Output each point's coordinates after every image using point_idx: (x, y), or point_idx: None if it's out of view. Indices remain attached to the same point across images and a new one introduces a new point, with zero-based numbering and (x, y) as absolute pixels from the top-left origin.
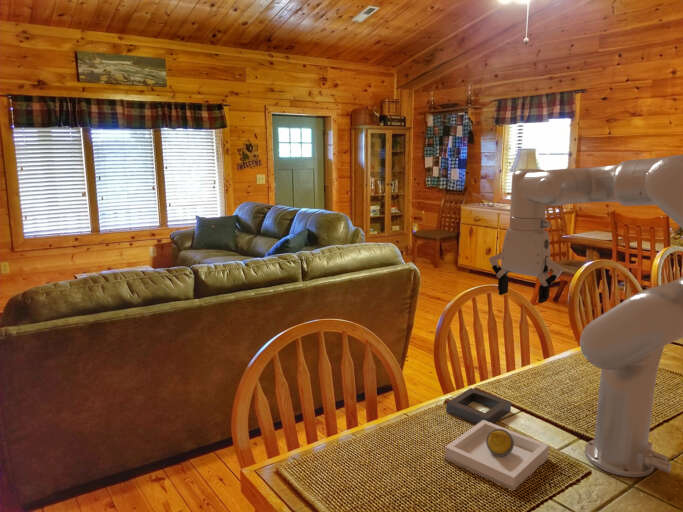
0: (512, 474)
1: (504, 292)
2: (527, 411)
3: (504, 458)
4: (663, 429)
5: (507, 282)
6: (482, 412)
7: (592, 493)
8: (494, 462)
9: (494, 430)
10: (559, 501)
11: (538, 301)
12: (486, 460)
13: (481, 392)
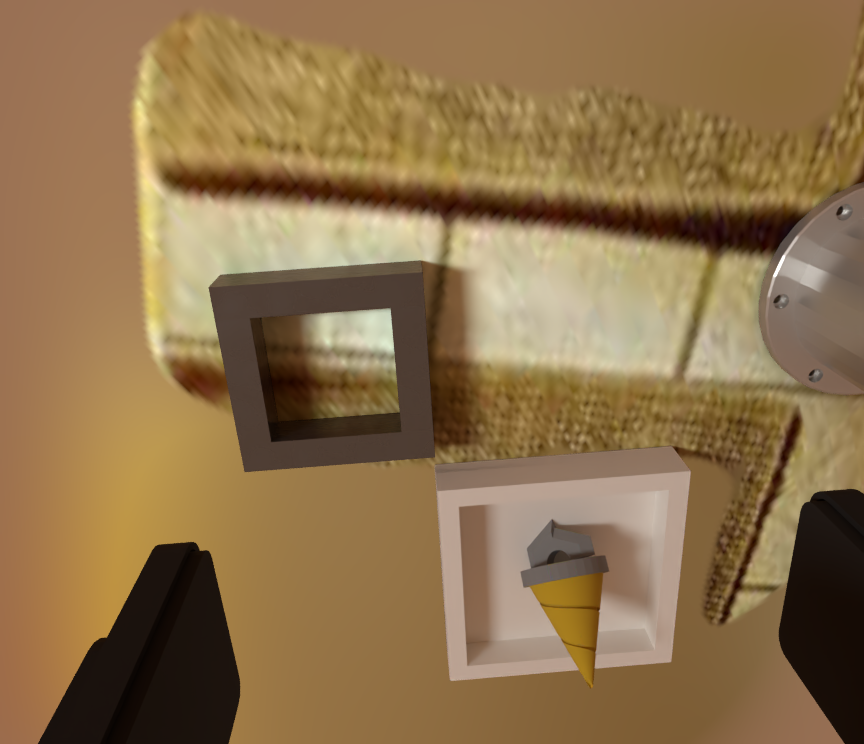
0: (662, 655)
1: (221, 640)
2: (471, 203)
3: None
4: None
5: (161, 712)
6: (392, 434)
7: None
8: None
9: (542, 583)
10: (761, 582)
11: (787, 653)
12: None
13: (273, 291)
